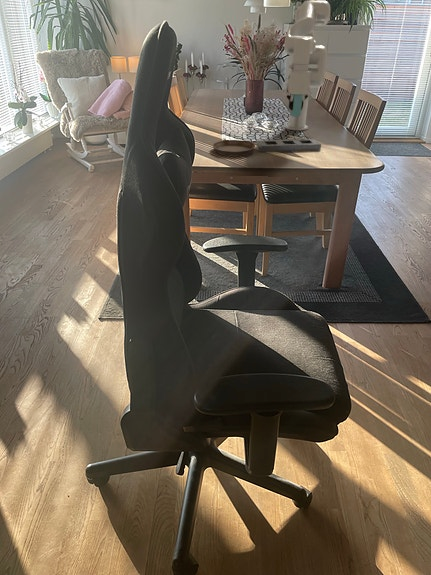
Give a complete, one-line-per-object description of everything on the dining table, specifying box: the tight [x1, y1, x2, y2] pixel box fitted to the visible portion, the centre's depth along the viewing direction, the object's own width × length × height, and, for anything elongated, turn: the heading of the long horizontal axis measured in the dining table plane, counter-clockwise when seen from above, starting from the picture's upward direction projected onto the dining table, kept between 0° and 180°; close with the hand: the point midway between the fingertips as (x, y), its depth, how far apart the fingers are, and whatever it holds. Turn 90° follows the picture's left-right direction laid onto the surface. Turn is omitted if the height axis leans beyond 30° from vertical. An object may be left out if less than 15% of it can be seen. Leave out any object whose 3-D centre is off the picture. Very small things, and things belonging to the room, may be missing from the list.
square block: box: [289, 95, 303, 116], centre depth 221 cm, size 4×4×10 cm
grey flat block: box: [255, 138, 322, 153], centre depth 229 cm, size 10×30×3 cm, turn 99°
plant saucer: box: [212, 139, 256, 157], centre depth 223 cm, size 21×21×3 cm
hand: (295, 109), depth 222 cm, fingers closed on square block, 4 cm apart
